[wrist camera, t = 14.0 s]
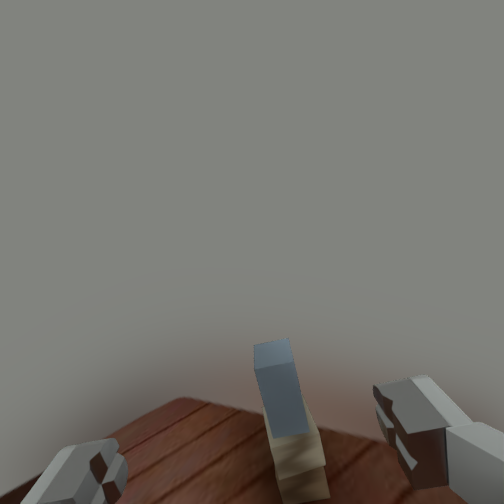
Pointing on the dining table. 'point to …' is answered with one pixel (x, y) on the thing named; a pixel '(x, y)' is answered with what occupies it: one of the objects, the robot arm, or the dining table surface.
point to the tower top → (296, 449)
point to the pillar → (280, 388)
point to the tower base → (304, 486)
